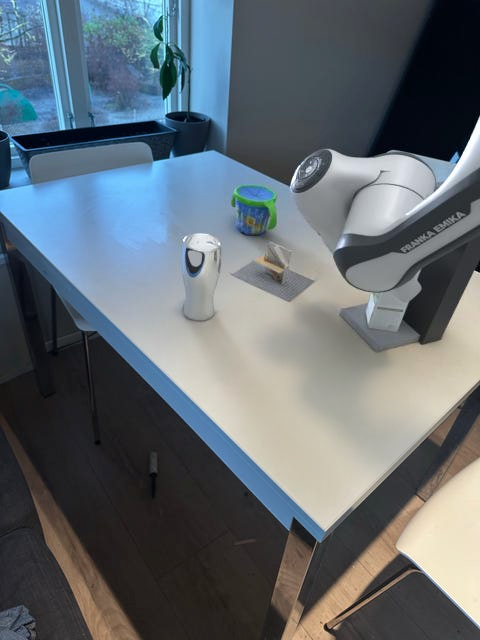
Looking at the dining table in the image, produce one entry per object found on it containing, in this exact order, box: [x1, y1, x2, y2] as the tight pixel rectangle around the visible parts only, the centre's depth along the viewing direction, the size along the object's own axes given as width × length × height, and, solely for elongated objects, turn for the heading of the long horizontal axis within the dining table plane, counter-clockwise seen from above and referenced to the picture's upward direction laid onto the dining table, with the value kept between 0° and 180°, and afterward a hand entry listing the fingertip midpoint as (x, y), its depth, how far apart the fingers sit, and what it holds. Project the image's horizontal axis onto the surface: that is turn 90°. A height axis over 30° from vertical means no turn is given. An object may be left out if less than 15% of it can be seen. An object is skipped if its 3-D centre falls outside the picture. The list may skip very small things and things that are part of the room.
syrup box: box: [365, 270, 421, 332], centre depth 82 cm, size 6×6×14 cm
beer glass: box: [181, 232, 223, 322], centre depth 81 cm, size 7×7×15 cm
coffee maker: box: [339, 180, 480, 353], centre depth 81 cm, size 15×14×27 cm
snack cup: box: [230, 184, 278, 236], centre depth 114 cm, size 16×10×10 cm
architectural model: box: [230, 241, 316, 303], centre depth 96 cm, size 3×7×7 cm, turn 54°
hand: (385, 280), depth 80 cm, fingers open, 8 cm apart
